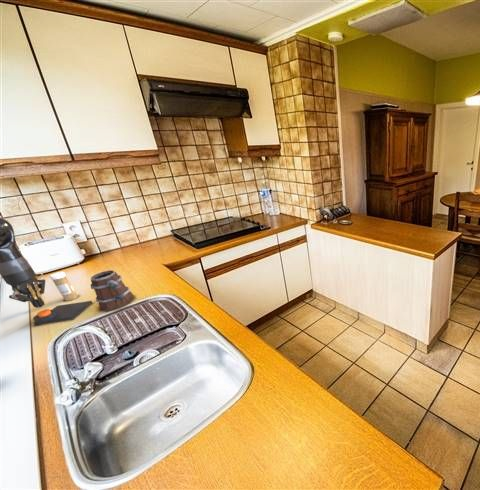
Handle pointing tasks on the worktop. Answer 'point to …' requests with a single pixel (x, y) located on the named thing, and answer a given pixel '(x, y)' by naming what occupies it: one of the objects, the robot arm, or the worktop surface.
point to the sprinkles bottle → (63, 286)
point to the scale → (62, 313)
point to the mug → (110, 290)
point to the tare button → (44, 313)
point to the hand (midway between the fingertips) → (40, 306)
